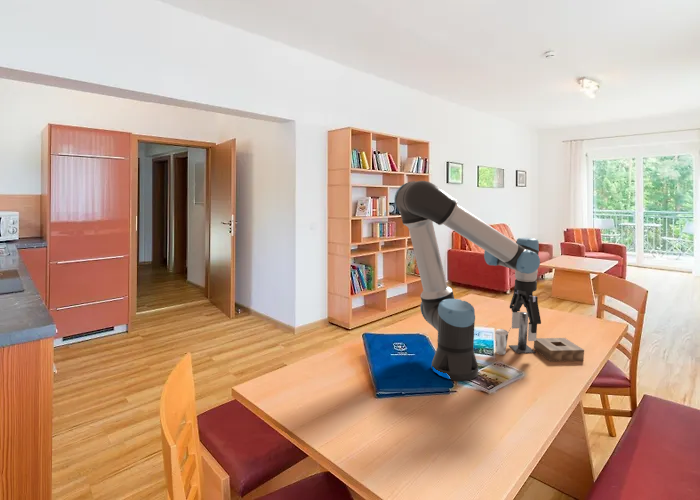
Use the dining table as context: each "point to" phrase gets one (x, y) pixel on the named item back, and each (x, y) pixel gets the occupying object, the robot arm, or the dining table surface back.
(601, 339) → the dining table surface
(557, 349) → the hole block
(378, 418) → the dining table surface
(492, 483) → the dining table surface
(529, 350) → the mat
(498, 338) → the milkshake
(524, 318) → the pin
